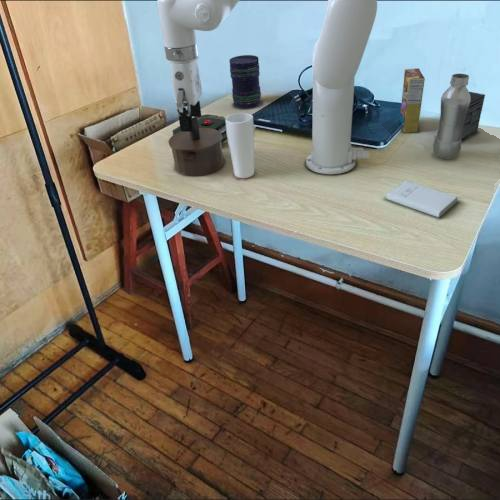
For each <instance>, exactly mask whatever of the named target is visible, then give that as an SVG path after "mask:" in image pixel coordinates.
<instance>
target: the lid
mask: <svg viewBox="0 0 500 500" xmlns="http://www.w3.org/2000/svg"><path fill="white" fill-rule="evenodd" d="M192 120H193V128H194V130H193V131H192V132H182V131H181V132H178V133H176V134H174V135H173V134H172V136H171V137H170V138H169V139H168V146H169V148H170V149H171V150H172V149H174V150H177V151H182V152H196V151H202V150H206V149H209V148H212V147H214V146H216V145H217V144H219V143H220V142H221V140H222V134H221V133H220V132H219V131H217V130H215V129H211V128H199V125H198V119H197V118H194V117H192Z"/></svg>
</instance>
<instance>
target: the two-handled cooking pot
mask: <svg viewBox="0 0 500 500" xmlns="http://www.w3.org/2000/svg"><path fill="white" fill-rule="evenodd" d="M222 144H223V143H221V142H220V143H219V144H217V145H216V146H214V147H212V148H209V149H206V150H202V151H196V152H182V151H177V150H174V149H172V148H171V152H172V158H173V163H174V168H175V170H176V172H177V173H178V174H181V175H183V176H187V177H199V176H206V175H210V174H212V173H215V172H217V171H218V170H220V169H221V168H222V167H223V165H224V153H223V146H222Z"/></svg>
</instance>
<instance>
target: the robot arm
mask: <svg viewBox="0 0 500 500" xmlns="http://www.w3.org/2000/svg"><path fill="white" fill-rule="evenodd" d="M239 2H240V0H157V1H156V3H157V11H158V16H159V23H160V29H161V35H162V41H163V47H164V53H165V54H164V55H165V60H166V62H167V63H168V64H170V74H171V75H170V76H171V84H172V91H173V98H174V102H175V104H176V108H177V109H176V111H177V116H178V121H179V122H178V123H179V126H180V129H181V131H182V132H192V131H193V130H194V128H193V120H192V118H194V117H200V116H201V115H202V111H201V110H202V109H201V101H200V99H201V97H202V95H203V90H202V83H201V82H202V81H201V76H200V71H199V65H198V60H199V52H198V51H199V50H198V43H197V35H196V31H201V32H202V31H203V32H212V31H214V30H217V29H218V28H219V27H220V26H221V25H222V23H223V22H224V21H225V20H226V19H227V17H228V16H229V15H230V14H231V12H232V11H233V10H234V9H235V7H236V6H237V5H238V3H239ZM377 11H378V0H327V8H326V11H325V15H324V16H325V17H324V20H323V23H322V26H321V31H320V34H319V37H318V39H317V40H316V41H315V44H314V45H313V46H314V47H313V49H312V57H311V59H312V62H311V71H312V111H311V113H312V117H311V121H312V123H311V124H312V129H311V130H312V131H311V153H310V154H309V155H308V156H307V157H306V159H305V165H306V167H307V168H308V169H309V170H311V171H313V172H315V173H318V174H321V175H340V174H343V173H347V172H349V171H351V170H352V169H354V167H355V166H356V162H357V159H361V160H366V159H367V160H368V159H369V158H370V151H369V150H364V148H363V147H353V146H352V142H351V141H352V124H353V109H354V107H353V106H354V97H355V96H354V95H355V77H356V75H357V73H358V70H359V69H360V68H359V67H360V65H361V62H362V59H363V56H364V54H365V51H366V48H367V44H368V42H369V39H370V36H371V33H372V31H373V27H374V25H375V20H376V17H377Z"/></svg>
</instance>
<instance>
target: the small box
mask: <svg viewBox="0 0 500 500" xmlns="http://www.w3.org/2000/svg"><path fill="white" fill-rule="evenodd" d="M469 93H470V97H471V101H470V104H469V107H468V110H467V112H466V115H465V119H464V122H463V127H462V135H461V142H462V141H464V140H465V139H467V138H469V137H471V136H472V135H475V134H476V133H478V132H479V125H480V121H481V115H482V111H483V107H484V102H485V97H486V94H484V93H480V92H479V93H478V92H473V91H469ZM439 123H440V120H439V122H438V124H439ZM438 128H439V126H438V127H437V129H438Z"/></svg>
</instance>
